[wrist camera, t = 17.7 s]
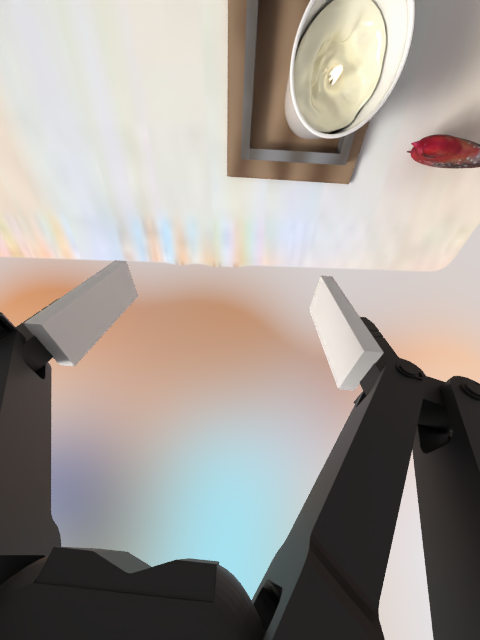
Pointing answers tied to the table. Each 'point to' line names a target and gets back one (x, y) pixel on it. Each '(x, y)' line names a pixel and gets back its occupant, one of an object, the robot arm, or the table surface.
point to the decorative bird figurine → (446, 152)
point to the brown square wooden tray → (274, 101)
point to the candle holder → (345, 64)
